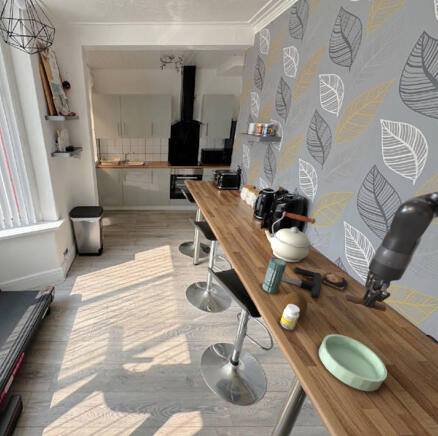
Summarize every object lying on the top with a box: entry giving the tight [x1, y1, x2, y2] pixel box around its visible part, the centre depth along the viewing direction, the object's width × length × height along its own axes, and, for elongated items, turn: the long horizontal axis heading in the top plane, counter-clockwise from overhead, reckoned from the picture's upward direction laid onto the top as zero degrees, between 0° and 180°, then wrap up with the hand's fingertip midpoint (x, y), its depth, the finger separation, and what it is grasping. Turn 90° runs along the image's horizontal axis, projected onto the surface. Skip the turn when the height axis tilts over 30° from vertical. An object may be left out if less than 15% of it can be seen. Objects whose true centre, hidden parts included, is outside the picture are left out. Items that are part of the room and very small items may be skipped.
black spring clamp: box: [281, 266, 324, 300], centre depth 111 cm, size 3×20×16 cm
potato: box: [283, 291, 308, 319], centre depth 93 cm, size 8×12×8 cm, turn 155°
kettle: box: [264, 211, 319, 263], centre depth 129 cm, size 25×18×25 cm
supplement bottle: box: [279, 304, 300, 330], centre depth 86 cm, size 5×5×8 cm
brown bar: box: [344, 293, 387, 313], centre depth 78 cm, size 10×3×2 cm, turn 60°
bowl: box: [318, 333, 388, 392], centre depth 73 cm, size 15×15×4 cm
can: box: [261, 256, 288, 295], centre depth 103 cm, size 6×6×15 cm
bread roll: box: [323, 272, 348, 291], centre depth 112 cm, size 11×8×4 cm
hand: (366, 304), depth 78 cm, fingers closed on brown bar, 1 cm apart
